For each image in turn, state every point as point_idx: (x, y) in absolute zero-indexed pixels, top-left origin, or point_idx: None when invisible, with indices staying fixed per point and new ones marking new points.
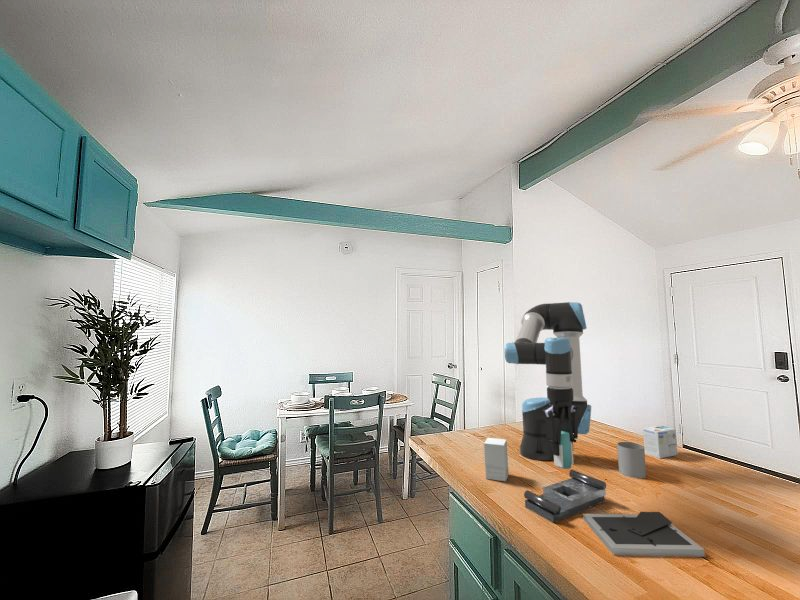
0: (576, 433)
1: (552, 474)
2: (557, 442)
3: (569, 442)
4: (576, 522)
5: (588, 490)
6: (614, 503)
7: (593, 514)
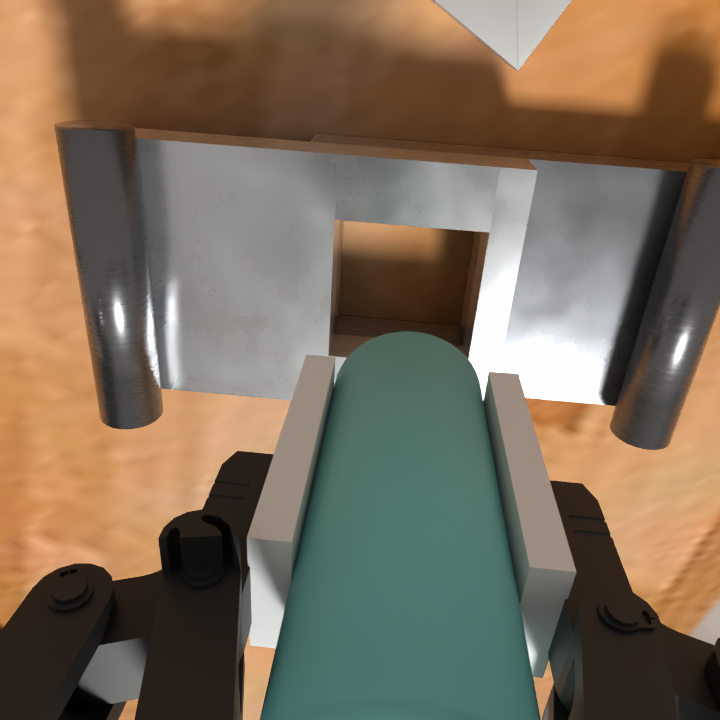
0: (33, 651)
1: (110, 525)
2: (659, 638)
3: (374, 546)
4: (594, 72)
5: (239, 194)
6: (83, 65)
7: (462, 10)
